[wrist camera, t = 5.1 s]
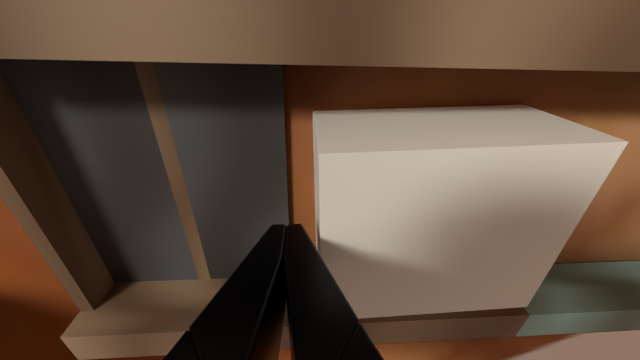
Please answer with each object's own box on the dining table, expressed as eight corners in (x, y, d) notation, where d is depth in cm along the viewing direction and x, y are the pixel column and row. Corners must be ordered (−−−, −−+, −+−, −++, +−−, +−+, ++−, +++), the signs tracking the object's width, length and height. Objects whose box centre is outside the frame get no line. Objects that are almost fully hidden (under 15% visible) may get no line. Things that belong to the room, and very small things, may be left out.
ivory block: (316, 244, 12) (321, 321, 9) (312, 108, 9) (318, 153, 6) (470, 236, 12) (527, 306, 9) (518, 102, 9) (628, 141, 6)
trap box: (117, 300, 12) (78, 360, 10) (-66, -27, 6) (-262, -54, 4) (634, 280, 14) (694, 327, 12) (881, 12, 8) (1095, 7, 6)
